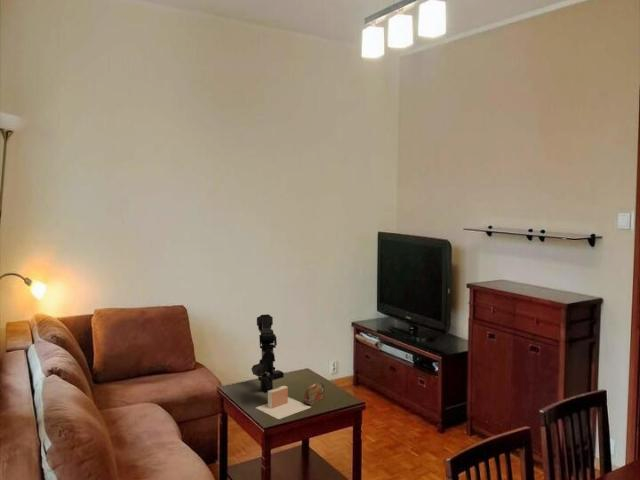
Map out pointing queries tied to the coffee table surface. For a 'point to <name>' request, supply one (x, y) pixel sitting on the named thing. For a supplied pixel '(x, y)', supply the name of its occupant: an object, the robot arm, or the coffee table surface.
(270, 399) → the tile
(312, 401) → the tin
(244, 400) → the coffee table surface
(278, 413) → the felt mat
